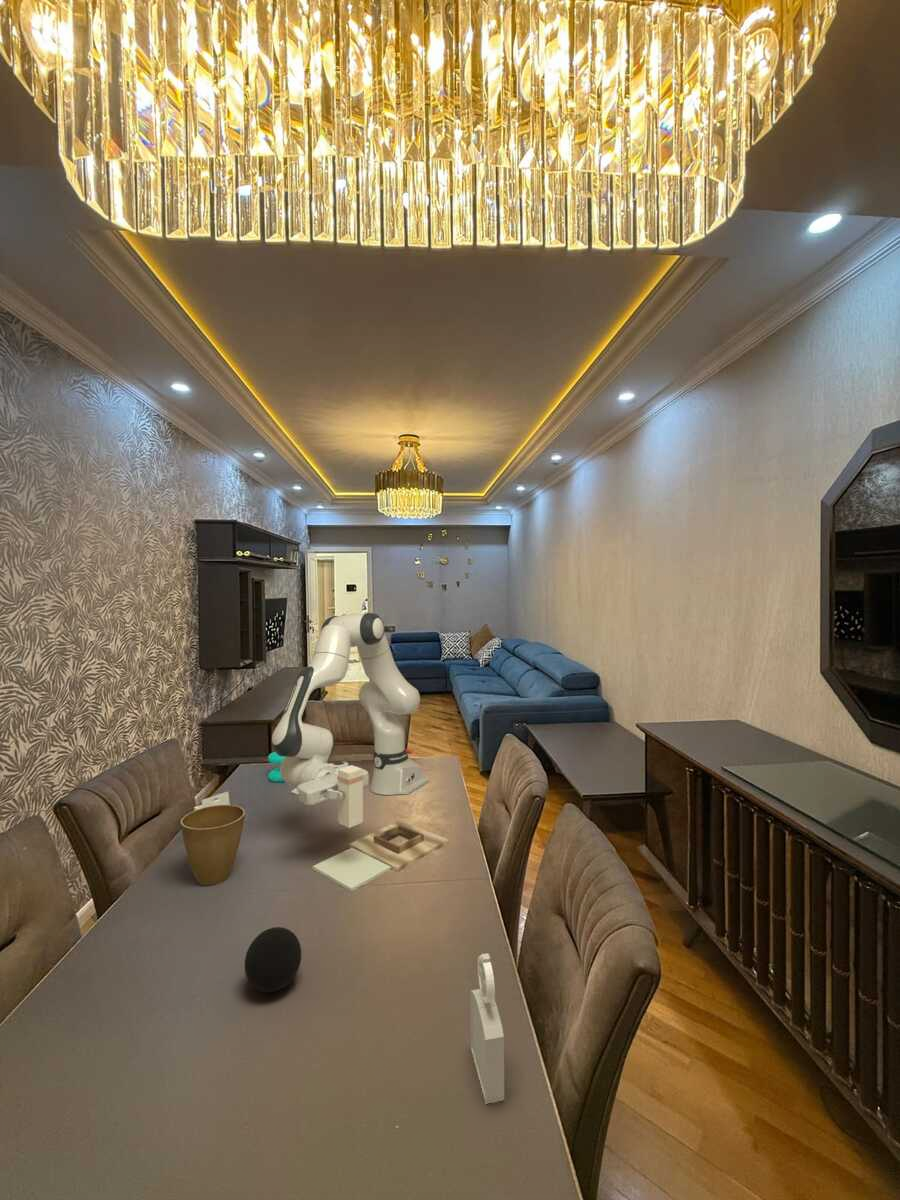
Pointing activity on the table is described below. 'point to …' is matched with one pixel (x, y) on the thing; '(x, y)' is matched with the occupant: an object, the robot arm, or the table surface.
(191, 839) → the plant pot
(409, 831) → the wooden square socket board
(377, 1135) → the table surface
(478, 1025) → the grey block with loop
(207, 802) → the ink cartridge box
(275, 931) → the decorative ball
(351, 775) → the banded cream pillar
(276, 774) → the donuts
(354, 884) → the pad
